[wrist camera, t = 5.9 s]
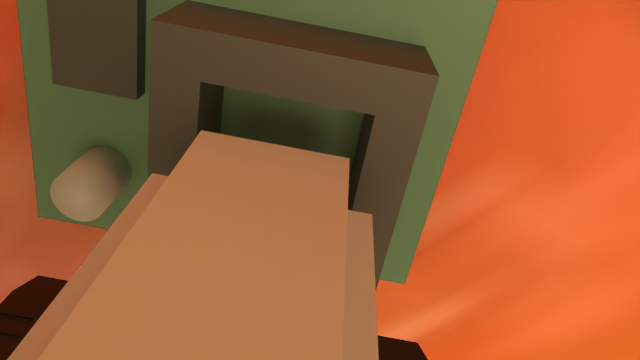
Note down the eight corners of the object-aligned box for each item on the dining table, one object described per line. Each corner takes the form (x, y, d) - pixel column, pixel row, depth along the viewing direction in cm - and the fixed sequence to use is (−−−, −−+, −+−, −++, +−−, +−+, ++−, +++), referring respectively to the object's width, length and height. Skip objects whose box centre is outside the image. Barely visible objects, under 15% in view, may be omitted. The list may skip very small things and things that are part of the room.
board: (53, 202, 23) (-14, 267, 19) (28, -98, 17) (-77, -100, 13) (402, 267, 23) (412, 344, 19) (490, -6, 18) (530, 20, 14)
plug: (192, 250, 15) (-30, 707, 7) (201, 130, 14) (-93, 543, 5) (322, 275, 16) (276, 757, 7) (349, 158, 14) (333, 614, 5)
